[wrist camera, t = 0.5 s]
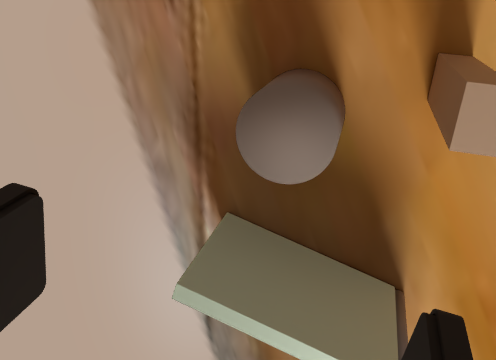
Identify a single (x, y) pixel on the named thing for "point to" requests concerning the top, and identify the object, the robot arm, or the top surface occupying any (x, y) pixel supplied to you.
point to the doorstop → (291, 127)
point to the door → (293, 296)
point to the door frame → (465, 103)
